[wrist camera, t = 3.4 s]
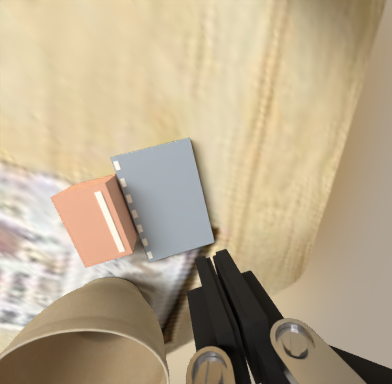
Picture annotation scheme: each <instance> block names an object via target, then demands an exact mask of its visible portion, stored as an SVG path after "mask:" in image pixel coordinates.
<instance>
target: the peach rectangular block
mask: <svg viewBox="0 0 392 384" xmlns="http://www.w3.org/2000/svg"><path fill="white" fill-rule="evenodd" d="M50 198H51V200H52V202H53V204H54V206H55V208H56V210H57V212H58V214H59V216H60V218H61V220H62V222H63V224H64V226H65V228H66V230H67V232H68V234H69V236H70V238H71V240H72V242H73V244H74V246H75V248H76V250H77V252H78V254H79V256H80V258H81V260H82V262H83V264H84V266H85V268H86V267H89V266H93V265H96V264H99V263H103V262H106V261H109V260H113V259H116V258H119V257H123V256H126V255H129V254H133V251H134V247H135V243H136V239H137V235H138V231H137V228H136V226H135V223H134V220H133V217H132V215H131V212H130V209H129V207H128V204H127V201H126V199H125V196H124V193H123V191H122V188H121V185H120V183H119V180H118V177H117V174H114V175H110V176H106V177H102V178H98V179H95V180H91V181H87V182H83V183H79V184H75V185H73V186H71V187H69V188H67V189H65V190H64V191H62V192H60V193H58V194H56V195H54V196H52V197H50Z"/></svg>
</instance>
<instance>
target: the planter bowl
mask: <svg viewBox="0 0 392 384" xmlns="http://www.w3.org/2000/svg"><path fill="white" fill-rule="evenodd" d="M0 384H169V370H168V366H167V361H166V352H165V344H164V339H163V334H162V331H161V327H160V324H159V322H158V319H157V317H156V315H155V313H154V311H153V310H152V308H151V307H150V305H149V304H148V302H147V301H146V300H145V299H144V298H143V296H142V294H141V292H140V290H139V289H138V288H137V287H136V286H135V285H134V284H132V283H131V282H129V281H127V280H124V279H121V278H116V277H105V278H99V279H96V280H93V281H91V282H89V283H87V284H85V285H84V286H83V287H81V288H79V289H76V290H74V291H72V292H70V293H68V294H66V295H65V296H63V297H61V298H60V299H58V300H57V301H55V302H54V303H52V304H51V305H50V306H48V307H47V308H46V309H44V310H43V311H42V312H41V313H39V314H38V315H37V316H36V317H35V318H34V319H33V320H32V321H31V322H30V323H29V324H28V325H27V326H26V327H25V328H24V329H23V330H22V331H21V332H20V333H19V334H18V335H17V336H16V337H15V339H14V340H13V341H12V342H11V343H10V345H9V346H8V347H7V348H6V349H5V350H4V351H3V352H2V353H1V354H0Z"/></svg>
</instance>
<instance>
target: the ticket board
mask: <svg viewBox="0 0 392 384" xmlns="http://www.w3.org/2000/svg"><path fill="white" fill-rule="evenodd" d="M111 161H112V164H113V166H114V169H115V172H116V174H117V177H118V180H119V183H120V185H121V188H122V191H123V193H124V196H125V199H126V201H127V204H128V207H129V209H130V212H131V215H132V217H133V220H134V223H135V226H136V228H137V231H138V234H139V236H140V239H141V242H142V244H143V247H144V250H145V252H146V255H147V258H148V260H149V262H152V261H155V260H159V259H162V258H165V257H168V256H172V255H175V254H178V253H182V252H185V251H188V250H191V249H195V248H198V247H201V246H204V245H208V244H211V243H214V238H213V234H212V230H211V225H210V221H209V217H208V213H207V208H206V204H205V200H204V196H203V192H202V187H201V183H200V179H199V175H198V171H197V166H196V162H195V158H194V154H193V149H192V145H191V141H190V138H185V139H181V140H177V141H173V142H169V143H165V144H161V145H157V146H153V147H149V148H145V149H141V150H137V151H133V152H129V153H125V154H121V155H117V156H114V157H111Z"/></svg>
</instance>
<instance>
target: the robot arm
mask: <svg viewBox="0 0 392 384" xmlns="http://www.w3.org/2000/svg"><path fill="white" fill-rule="evenodd" d="M213 260H214V264H215V268H216V271H215V269H214V266H213V264H212V262H211V259H210V257H209V258H206V257H205V256H202V257H199V258H196V259H195V262H196V266H197V269H198V273H199V277H200V280H201V284H202V287H199V288H196V289H193V290H190V291H187V296H188V303H189V309H190V315H191V321H192V327H193V333H194V339H195V346H196V353H195V355H194V356H193V357H192V359H191V360H190V362H189V365H188V368H187V374H186V384H251V379H250V375H249V371H248V367H247V363H248V365H249V368H250V370H251V373H252V375H253V378H254V381H255V383H256V384H260V383H261V384H392V369H390V368H387V367H385V366H382V365H379V364H377V363H374V362H372V361H369V360H366V359H364V358H361V357H359V356H356V355H353V354H351V353H348V352H346V351H343V350H340V349H338V348H335V347H333V346H330V345H328V344H327V343H326V342H324V341H323V339H321V338H320V336H319V335H318V334H316V332H315V331H314V330H313V329H311V328H310V327H309V326H308V325H306V324H305V323H303V322H301V321H299V320H296V319H291V318H289V319H288V318H287V319H284V318H283V316H282V315H281V313H280V312H279V311H278V309H277V307H276V306H275V304H274V303H273V301H272V300H271V299H270V297H269V296H268V294H267V293H266V291H265V290H264V288H263V287H262V286H261V284H260V283H259V281H258V280H257V278H256V277H255V275H254V274H253V273H252V271H247V272H244V273H240V271H239V269H238V268H237V266H236V264H235V263H234V261H233V259H232V258H231V256H230V254H229V253H228V251H227V249H224V250H221V251H218V252H216V255H215V256H213ZM216 272H217V274H216ZM245 357H246V358H245ZM246 360H247V362H246Z"/></svg>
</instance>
